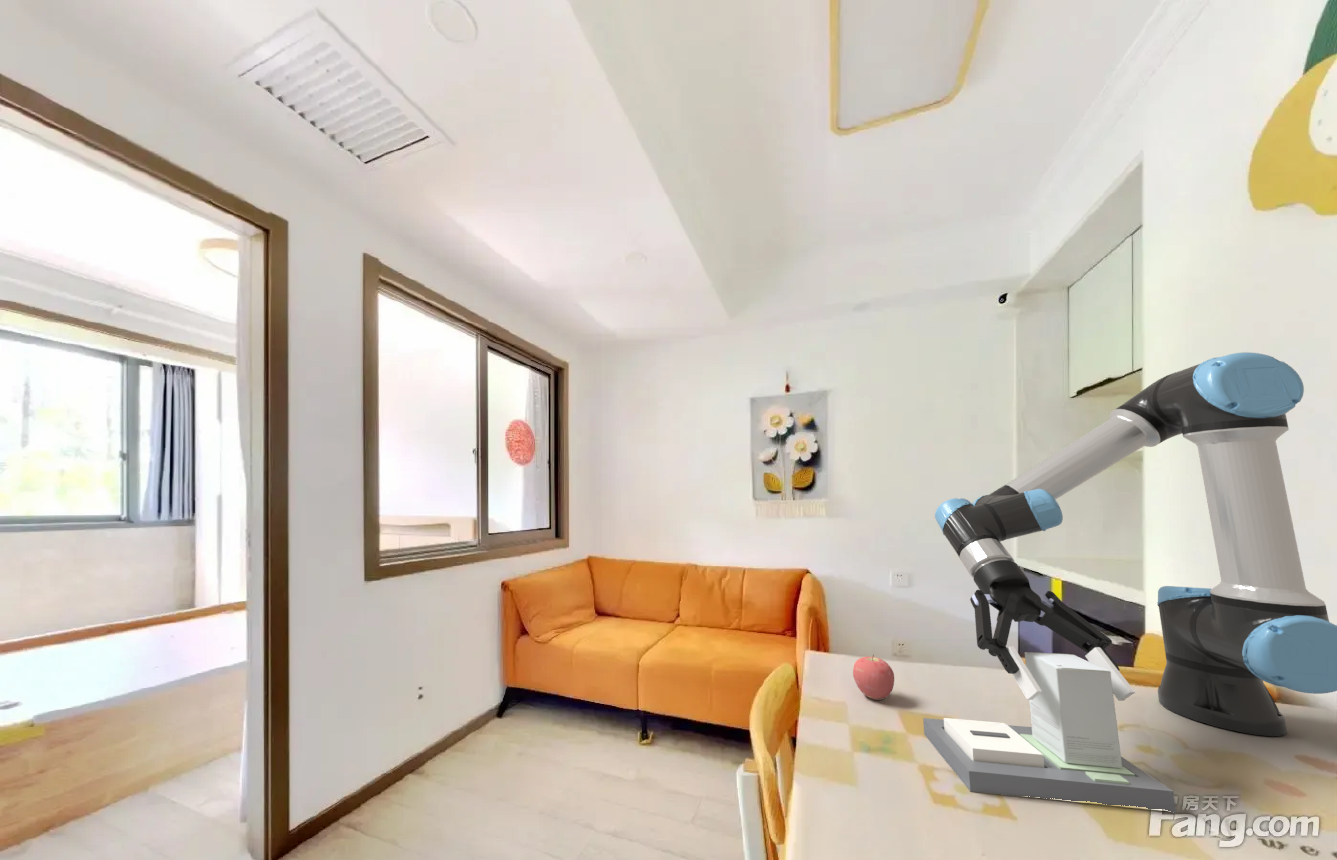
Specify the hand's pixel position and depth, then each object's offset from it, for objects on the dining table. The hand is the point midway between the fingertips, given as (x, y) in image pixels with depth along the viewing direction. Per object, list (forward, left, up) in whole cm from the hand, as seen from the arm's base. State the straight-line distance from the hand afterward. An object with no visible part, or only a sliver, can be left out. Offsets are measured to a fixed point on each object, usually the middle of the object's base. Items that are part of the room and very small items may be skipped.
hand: (1081, 696), depth 65 cm
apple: (+22, -23, -11) cm, 34 cm away
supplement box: (0, -2, -9) cm, 9 cm away
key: (0, -2, -11) cm, 11 cm away
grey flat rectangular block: (+6, -2, -11) cm, 13 cm away
